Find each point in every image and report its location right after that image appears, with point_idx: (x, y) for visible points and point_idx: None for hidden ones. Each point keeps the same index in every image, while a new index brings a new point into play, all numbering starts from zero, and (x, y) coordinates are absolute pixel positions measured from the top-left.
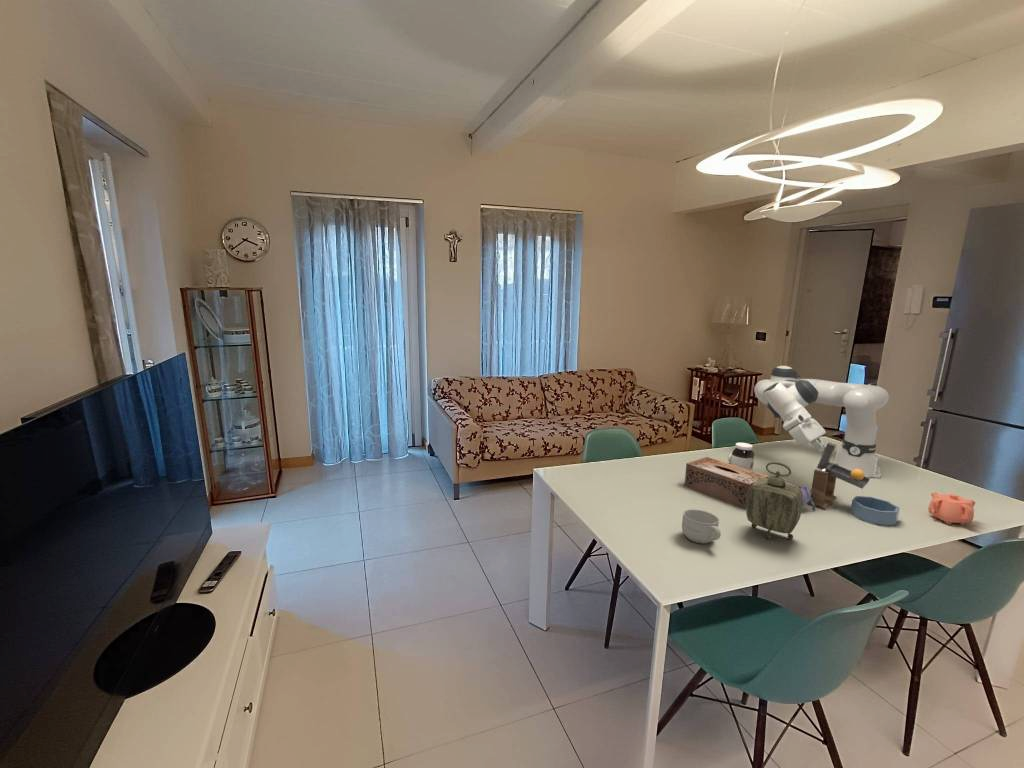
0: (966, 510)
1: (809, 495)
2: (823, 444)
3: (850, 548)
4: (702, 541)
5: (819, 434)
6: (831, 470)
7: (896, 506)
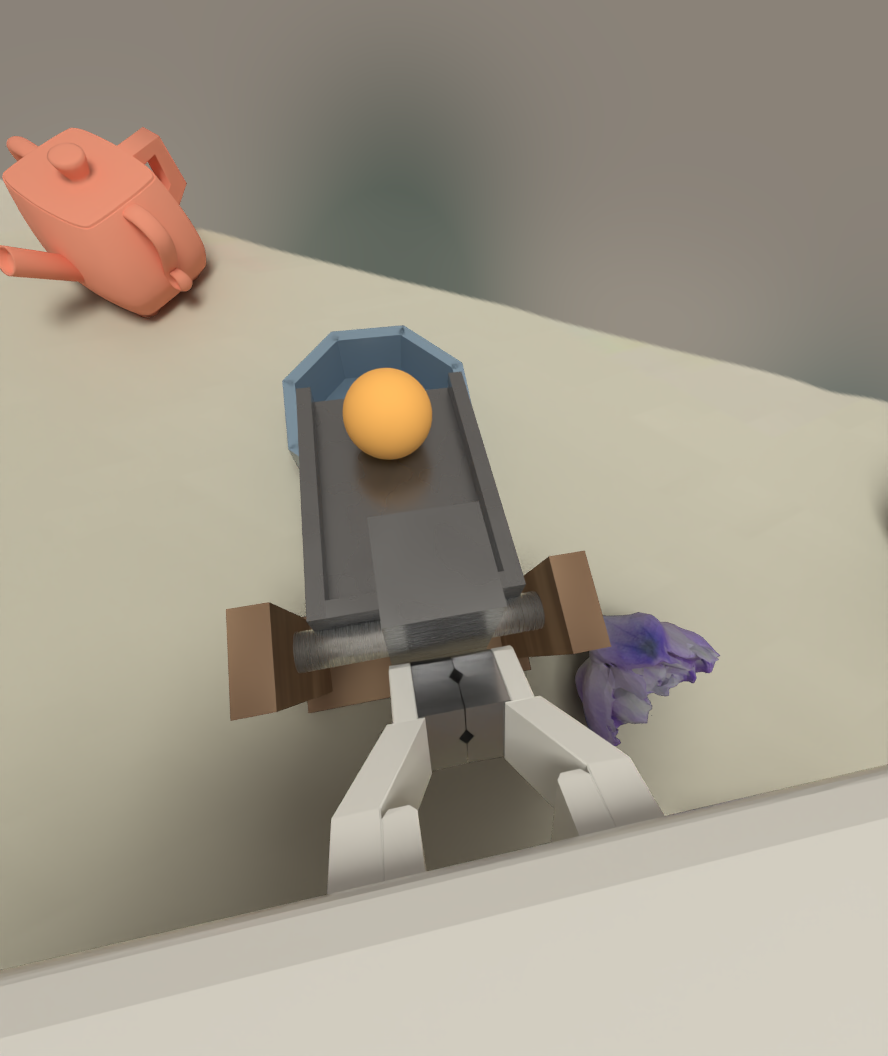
0: (162, 156)
1: (644, 613)
2: (416, 713)
3: (740, 393)
4: None
5: (363, 943)
6: (513, 546)
7: (325, 343)
